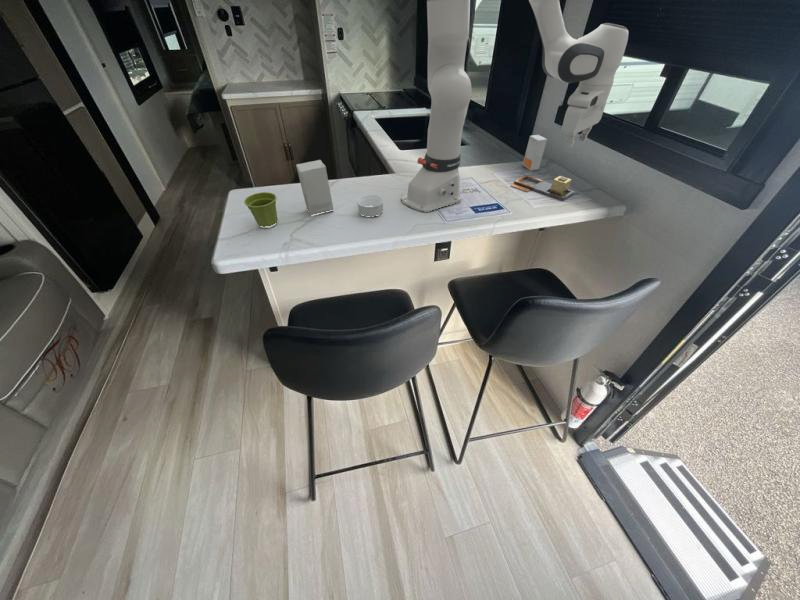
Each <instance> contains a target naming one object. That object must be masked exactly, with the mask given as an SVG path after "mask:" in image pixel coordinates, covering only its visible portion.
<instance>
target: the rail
mask: <svg viewBox="0 0 800 600" xmlns="http://www.w3.org/2000/svg"><path fill="white" fill-rule="evenodd" d="M524 180H528V181H529V182H530V181H531V182H534V183H535V184H534V185H530V184H527V183H525V182H523V181H524ZM551 186H552V183H550V182H547V181H544V180H542V179H540V178H536V177H534V176H531V175H527V174H526V175H523V176H521V177H519V178H518V179H516V180H514V181H513V184H511V185H510V187H512V188H514V189H517V190H520V191H521V192H525V193H529V192H530V191H533V192H536V193H538V194H541V195H544V196H547V197H550V198H553V199H555V200H559V201H561V202H564V201H566V200H567V199H568V198H570V197H572V196H573V195H574V193H575V191H574V190H571V189H568V191H567V194H566V195H564V196H563V197H561V196H558V195H555V194H552V193H550V189H551Z"/></svg>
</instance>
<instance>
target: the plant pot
mask: <svg viewBox="0 0 800 600" xmlns="http://www.w3.org/2000/svg"><path fill="white" fill-rule="evenodd" d="M243 203H244V205H245V206H246V207H247V208H248V210H249V211H250V212H251V214H252V217H253V218H254V220H255V222H256V224H257V225H259V226H263V227H265V226H271V225H273V224H275V223H277V221H278V220H279V219H278V213H277V205H276V204H277V196H276V194H274V193H272V192H268V191H267V192H265V191H263V192H256V193H253V194H251V195H249V196H247V197H245V199H244V201H243ZM278 222H279V221H278ZM277 224H278V223H277ZM259 226H258V227H259Z"/></svg>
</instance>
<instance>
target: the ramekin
mask: <svg viewBox="0 0 800 600" xmlns="http://www.w3.org/2000/svg"><path fill="white" fill-rule="evenodd" d="M356 204H357V207H358V212H360V213H361V214H362V215H364V216H370V217H372V216H376V215H379V214H381V213H382V214H383V212H382V211H384V198H383V197H381V196H379V195H377V194H367V195H362V196H361V197H359V198H358V199H357V200H356ZM370 205H372V206H373V207H365V206H370ZM360 213H359V214H360ZM382 214H381V215H382ZM362 215H361V216H362ZM379 216H380V215H379Z"/></svg>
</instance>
